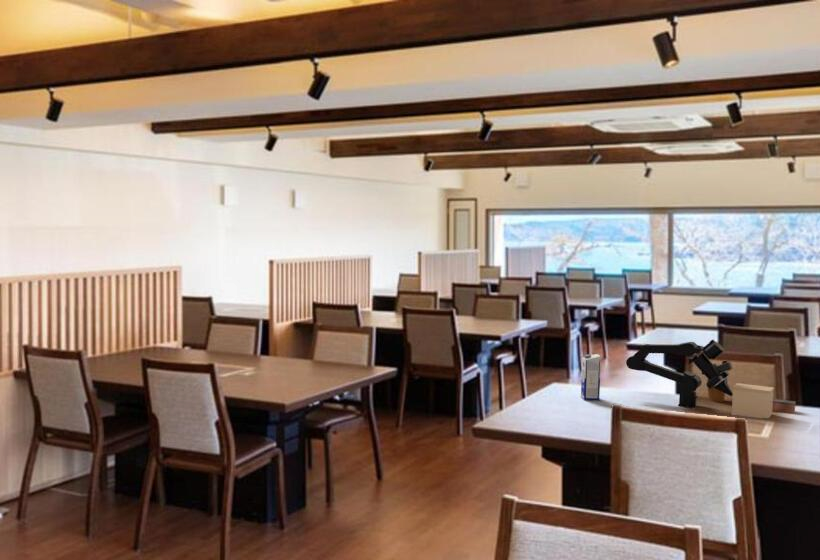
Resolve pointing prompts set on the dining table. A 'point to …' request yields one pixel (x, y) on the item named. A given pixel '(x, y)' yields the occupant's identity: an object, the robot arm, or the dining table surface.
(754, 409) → the kraft carton
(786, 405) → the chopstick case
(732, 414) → the board
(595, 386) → the milk carton
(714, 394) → the disposable coffee cup
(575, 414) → the dining table surface
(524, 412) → the dining table surface
